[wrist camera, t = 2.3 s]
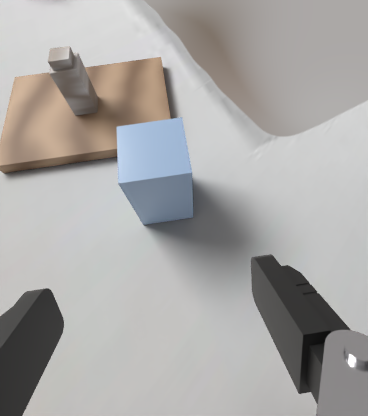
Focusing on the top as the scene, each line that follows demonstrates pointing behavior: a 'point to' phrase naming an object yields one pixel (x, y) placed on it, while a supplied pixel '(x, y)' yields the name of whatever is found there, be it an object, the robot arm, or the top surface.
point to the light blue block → (156, 170)
